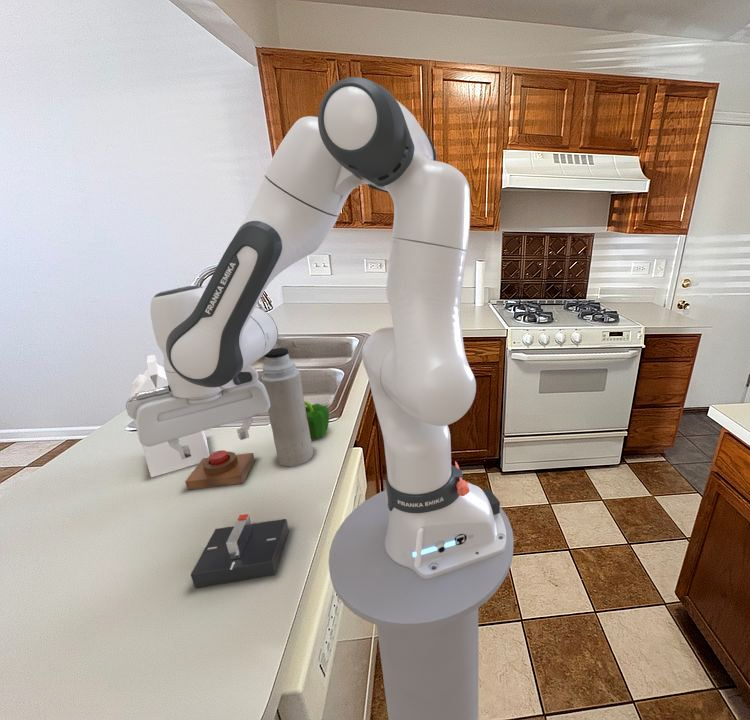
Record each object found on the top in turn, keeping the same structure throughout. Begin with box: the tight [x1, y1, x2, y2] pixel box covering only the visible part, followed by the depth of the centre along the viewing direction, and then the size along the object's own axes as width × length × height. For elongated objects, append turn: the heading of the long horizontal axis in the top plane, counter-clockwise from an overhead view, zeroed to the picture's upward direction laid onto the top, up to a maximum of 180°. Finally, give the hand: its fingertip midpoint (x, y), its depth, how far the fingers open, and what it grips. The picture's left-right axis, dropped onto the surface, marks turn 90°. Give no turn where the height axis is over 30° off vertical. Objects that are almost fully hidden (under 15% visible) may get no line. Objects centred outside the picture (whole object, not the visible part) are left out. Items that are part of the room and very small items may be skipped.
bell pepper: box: [304, 400, 330, 441], centre depth 106 cm, size 8×8×10 cm
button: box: [209, 449, 229, 465], centre depth 90 cm, size 4×4×2 cm
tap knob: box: [226, 513, 253, 559], centre depth 68 cm, size 6×2×4 cm, turn 13°
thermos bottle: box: [260, 347, 314, 467], centre depth 93 cm, size 8×8×28 cm
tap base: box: [190, 518, 290, 589], centre depth 69 cm, size 12×11×3 cm
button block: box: [184, 451, 256, 491], centre depth 91 cm, size 11×9×4 cm
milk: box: [129, 354, 210, 478], centre depth 94 cm, size 12×12×26 cm
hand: (216, 447), depth 74 cm, fingers open, 8 cm apart
